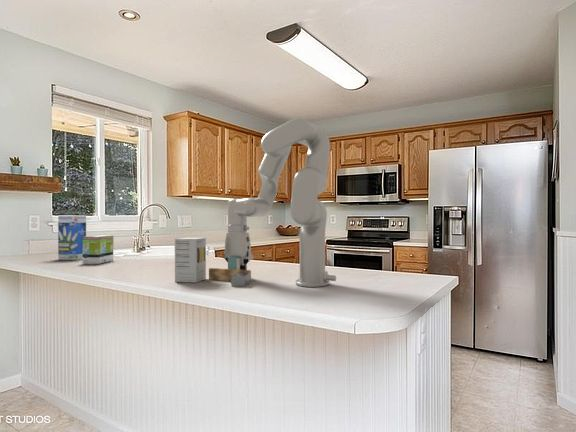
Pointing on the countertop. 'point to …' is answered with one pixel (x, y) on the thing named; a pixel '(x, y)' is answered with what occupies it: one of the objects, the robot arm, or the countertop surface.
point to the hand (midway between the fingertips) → (237, 274)
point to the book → (234, 263)
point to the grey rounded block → (240, 279)
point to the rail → (225, 273)
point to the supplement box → (190, 259)
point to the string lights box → (71, 237)
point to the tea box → (97, 249)
